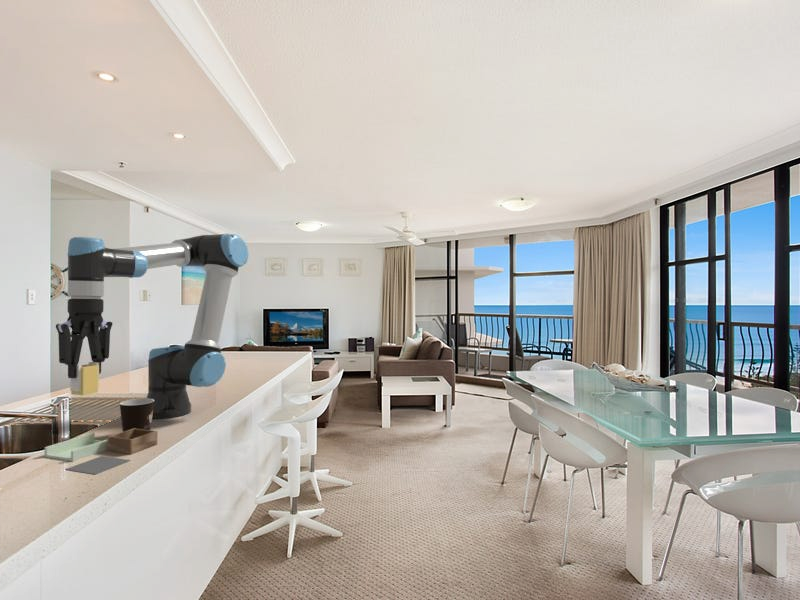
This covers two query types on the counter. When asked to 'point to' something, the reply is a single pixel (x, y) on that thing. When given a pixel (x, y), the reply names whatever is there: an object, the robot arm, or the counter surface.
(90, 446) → the sage tray
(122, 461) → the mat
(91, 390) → the yellow block
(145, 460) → the counter surface
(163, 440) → the counter surface
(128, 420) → the coffee mug
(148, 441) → the walnut box
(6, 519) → the counter surface
